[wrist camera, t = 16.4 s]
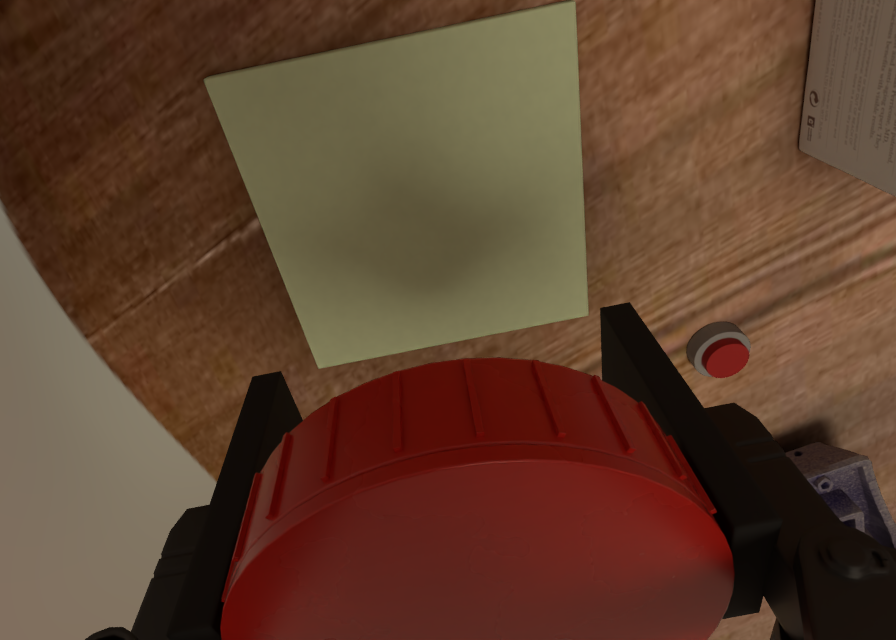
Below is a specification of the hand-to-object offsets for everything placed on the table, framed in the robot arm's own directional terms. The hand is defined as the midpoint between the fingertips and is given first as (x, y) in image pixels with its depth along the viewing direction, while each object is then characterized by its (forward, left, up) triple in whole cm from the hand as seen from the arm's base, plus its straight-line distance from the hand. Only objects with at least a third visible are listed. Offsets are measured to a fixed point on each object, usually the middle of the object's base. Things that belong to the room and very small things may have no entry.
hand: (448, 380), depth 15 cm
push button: (+11, +14, -12) cm, 21 cm away
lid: (0, 0, +6) cm, 6 cm away
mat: (0, 0, -12) cm, 12 cm away
